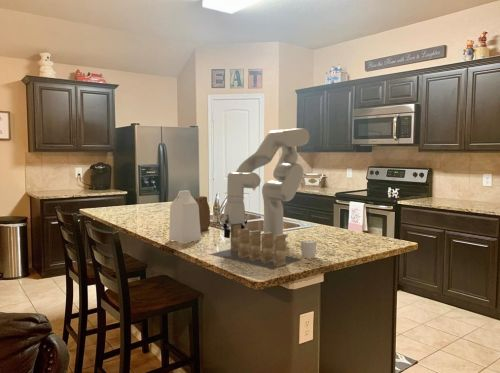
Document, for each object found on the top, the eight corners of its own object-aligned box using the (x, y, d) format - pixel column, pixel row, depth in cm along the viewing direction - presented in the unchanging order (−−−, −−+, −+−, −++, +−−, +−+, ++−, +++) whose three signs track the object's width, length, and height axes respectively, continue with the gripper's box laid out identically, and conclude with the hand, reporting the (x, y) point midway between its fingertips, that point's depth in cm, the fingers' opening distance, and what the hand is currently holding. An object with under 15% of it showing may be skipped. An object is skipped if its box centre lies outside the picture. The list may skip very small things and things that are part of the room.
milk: (182, 243, 207) (182, 192, 205) (169, 240, 214) (168, 191, 212) (201, 240, 216) (200, 190, 214) (187, 237, 223) (186, 189, 221)
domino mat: (240, 248, 197) (240, 246, 197) (302, 260, 173) (302, 259, 173) (209, 255, 182) (209, 254, 182) (272, 270, 158) (272, 269, 158)
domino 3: (261, 262, 168) (261, 233, 167) (269, 260, 171) (269, 231, 170) (265, 263, 166) (265, 234, 165) (272, 261, 170) (272, 232, 169)
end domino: (230, 250, 189) (230, 224, 188) (238, 248, 193) (238, 223, 192) (233, 251, 188) (233, 225, 187) (241, 249, 191) (241, 223, 191)
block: (198, 232, 238) (198, 197, 236) (189, 230, 242) (189, 196, 241) (211, 229, 246) (211, 196, 244) (203, 228, 251) (202, 195, 249)
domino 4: (273, 265, 163) (273, 235, 162) (281, 263, 167) (281, 233, 166) (277, 266, 162) (277, 236, 161) (285, 263, 166) (285, 234, 165)
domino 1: (238, 257, 176) (238, 229, 175) (246, 255, 180) (246, 228, 179) (241, 258, 175) (241, 230, 174) (249, 256, 179) (249, 228, 178)
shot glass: (301, 255, 182) (301, 239, 182) (317, 256, 180) (317, 240, 180) (299, 259, 176) (299, 243, 175) (315, 260, 174) (315, 244, 173)
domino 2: (249, 260, 172) (249, 231, 171) (257, 257, 176) (257, 230, 175) (253, 260, 171) (252, 232, 170) (260, 258, 174) (260, 230, 173)
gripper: (242, 198, 197) (241, 233, 198) (215, 199, 184) (215, 237, 185) (253, 199, 192) (253, 235, 193) (227, 201, 179) (226, 239, 180)
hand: (234, 236), depth 189 cm, fingers open, 9 cm apart
